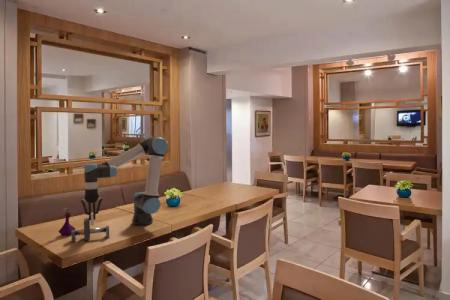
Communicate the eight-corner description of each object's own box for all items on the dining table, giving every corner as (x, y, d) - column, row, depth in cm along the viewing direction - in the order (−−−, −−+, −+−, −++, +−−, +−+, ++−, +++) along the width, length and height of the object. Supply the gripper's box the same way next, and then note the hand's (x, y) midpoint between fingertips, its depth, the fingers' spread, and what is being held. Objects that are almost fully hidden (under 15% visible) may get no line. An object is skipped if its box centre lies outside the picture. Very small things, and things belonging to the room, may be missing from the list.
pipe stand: (109, 235, 206) (108, 225, 206) (109, 237, 202) (109, 227, 201) (72, 239, 198) (71, 229, 198) (71, 242, 193) (71, 231, 193)
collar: (90, 235, 204) (89, 217, 203) (89, 239, 195) (89, 221, 195) (85, 235, 203) (84, 218, 202) (84, 240, 194) (83, 222, 194)
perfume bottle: (65, 232, 212) (64, 206, 211) (75, 233, 212) (74, 206, 210) (58, 236, 205) (57, 209, 204) (69, 236, 204) (67, 209, 203)
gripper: (102, 186, 204) (103, 222, 206) (80, 188, 199) (81, 224, 201) (102, 188, 197) (103, 225, 199) (79, 190, 192) (80, 227, 194)
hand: (92, 224), depth 200 cm, fingers closed
